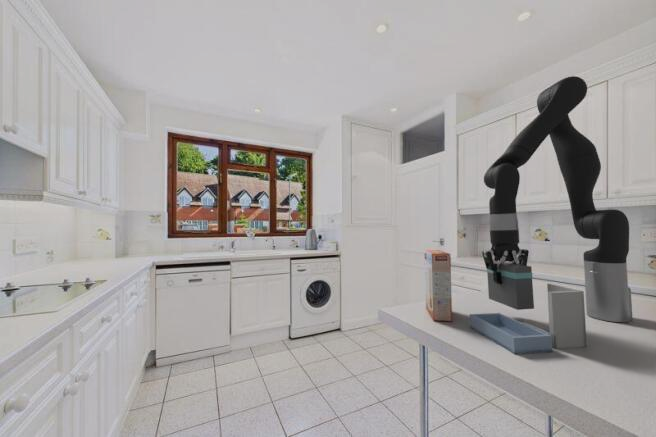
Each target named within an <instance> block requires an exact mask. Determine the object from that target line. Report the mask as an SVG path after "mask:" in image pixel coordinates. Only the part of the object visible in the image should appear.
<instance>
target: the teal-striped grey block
mask: <svg viewBox="0 0 656 437" xmlns="http://www.w3.org/2000/svg"><path fill="white" fill-rule="evenodd" d="M498 262H499V261H498ZM497 265H498V264H497ZM486 272H487V287H488V288H487V290H488V291H487V292H488V299H489V300H491V301H494V302H495V303H499V304H502V305H504V306H507V307H510V308H512V309H514V310H517V311H518V310H535V302H534V283H533V270H532V266H531V265H527V266H526V265H520V264H512V263H508V262H507V261H506V262H504V265H501V271H500V272H501V276H502V284H496V283H495V282H494V280H493V271H492V270H489V269H487V268H486Z"/></svg>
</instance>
